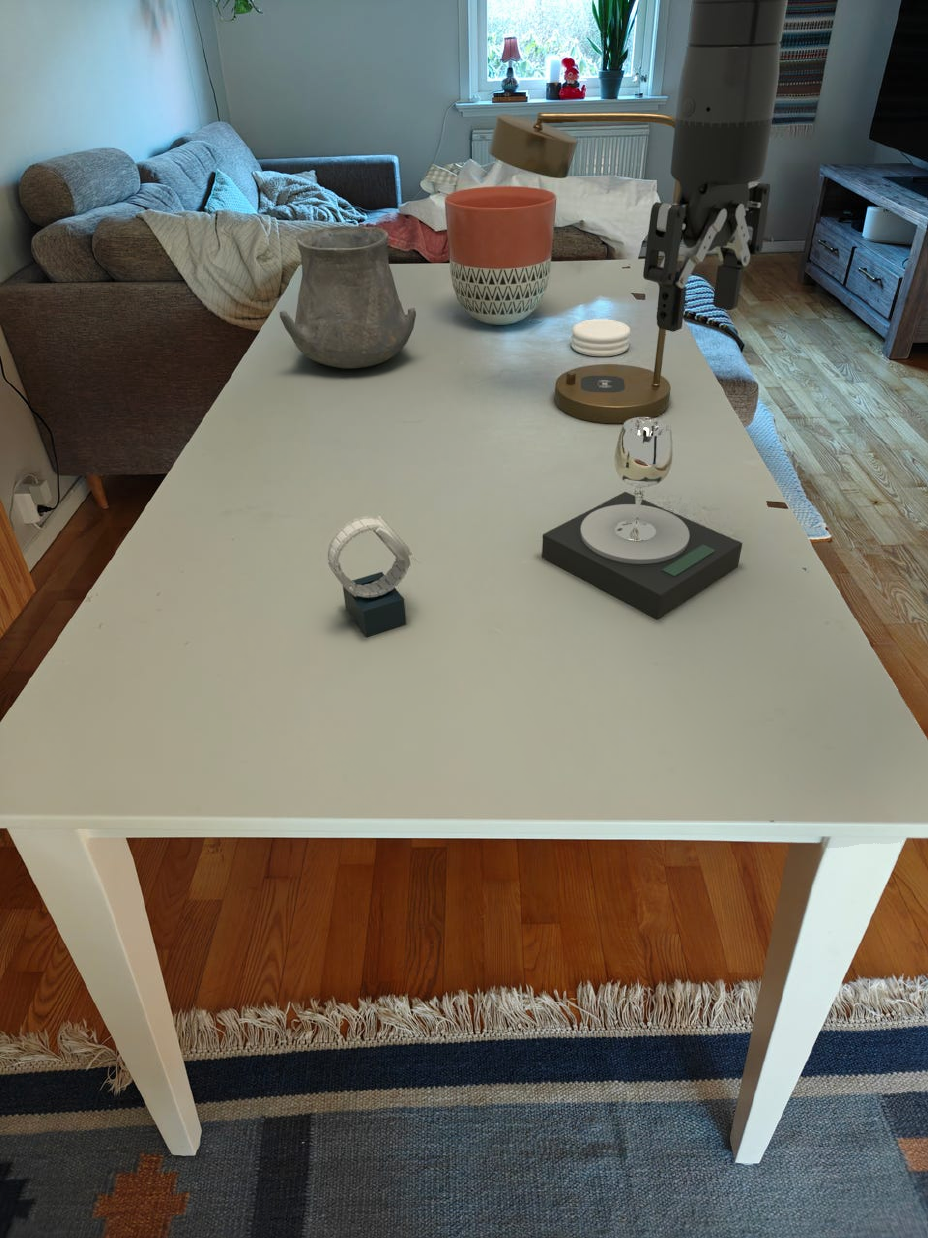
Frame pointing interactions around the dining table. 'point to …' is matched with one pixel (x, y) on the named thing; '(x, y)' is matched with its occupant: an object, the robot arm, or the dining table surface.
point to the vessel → (348, 299)
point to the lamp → (639, 390)
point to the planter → (500, 249)
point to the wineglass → (642, 467)
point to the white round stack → (600, 337)
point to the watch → (372, 578)
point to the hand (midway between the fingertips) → (697, 318)
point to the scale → (642, 554)
